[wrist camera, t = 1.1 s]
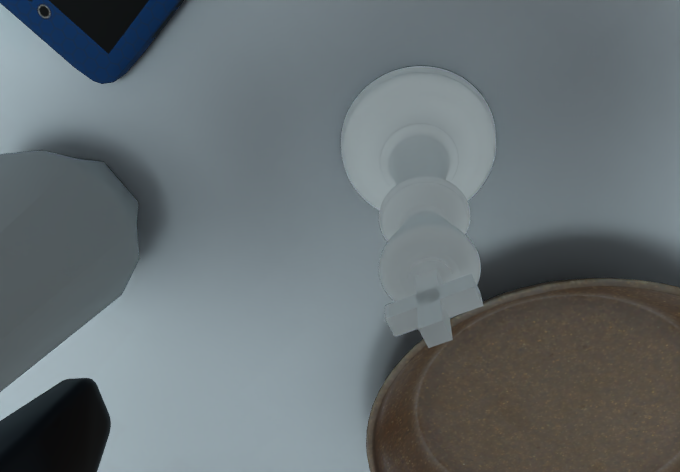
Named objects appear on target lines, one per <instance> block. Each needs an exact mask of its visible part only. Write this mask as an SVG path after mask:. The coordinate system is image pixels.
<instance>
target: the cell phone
mask: <svg viewBox="0 0 680 472" xmlns="http://www.w3.org/2000/svg"><path fill="white" fill-rule="evenodd" d="M183 1H184V0H0V3H1V4H2V5H3V6H4V7H6V8H7V9H8V10H9V11H10V12H11V13H13V14H14V15H15V16H16V17H17V18H18V19H19V20H21V21H22V22H23V23H24V24H25V25H26V26H27V27H29V28H30V29H31V30H32V31H33V32H34V33H35V34H37V35H38V36H39V37H40V38H41V39H42V40H43V41H45V42H46V43H47V44H48V45H49V46H50V47H52V48H53V49H54V50H55V51H56V52H57V53H58V54H60V55H61V56H62V57H63V58H64V59H65V60H66V61H68V62H69V63H70V64H71V65H72V66H73V67H74V68H76V69H77V70H79V71H80V72H81V73H83V74H84V75H86V76H87V77H88V78H90V79H91V80H93V81H95V82H98V83H101V84H104V83H112V82H115V81H116V80H117V79H119V78H120V77H122V76H123V75H124V74H126V73H127V71H128V70H129V69H130V68H131V67H132V66H133V64H134V63H135V62H136V61H137V60H138V59H139V58H140V56H141V55H142V54H143V53H144V52H145V50H146V49H147V48H148V47H149V45H150V44H151V43H152V41H153V40H154V39H155V37H156V36H157V35H158V34H159V32H160V31H161V30H162V28H163V27H164V26H165V25H166V23H167V22H168V21H169V19H170V18H171V17H172V15H173V14H174V13H175V12H176V10H177V9H178V8H179V6H180V5H181V4H182V3H183Z"/></svg>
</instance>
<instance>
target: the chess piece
mask: <svg viewBox="0 0 680 472" xmlns="http://www.w3.org/2000/svg"><path fill="white" fill-rule="evenodd" d="M341 154H342V159H343V164H344V168H345V171H346V174H347V176H348V178H349V180H350V182H351V184H352V186H353V187H354V189H355V190H356V191H357V193H358V194H359V195H360V196H361V197H362V198H363V199H364V200H365V201H366V202H367V203H369V204H370V205H371V206H373V207H374V208H376V209H378V210H379V225H380V229H381V232H382V234H383V236H384V238H385V239H386V241H387V242H388V243H387V244H386V246H385V247H384V249H383V251H382V254H381V257H380V260H379V277H380V281H381V284H382V286H383V288H384V290H385V291H386V293H387V294H388V295H389V297H390V298H391V299H392V300H393V301H395V302H393V303H390V304H388V305H385V321H386V322H387V324H388V326H389V328H390V329H391V331H392V333H393V335H394V336H395V337H397V336H400V335H402V334H405V333H408V332H411V331H414V330H417V329H418V330H419V331H420V333H421V335H422V337H423V339H424V341H425V342H426V344H427V346H428V348H430V347H433V346H436V345H439V344H442V343H445V342H448V341H451V340H453V338H452V331H451V324H450V318H451V317H454V316H456V315H459V314H462V313H465V312H468V311H471V310H473V309H476V308H479V307H482V306H484V305H483V301H482V297H481V293H480V290H479V288H478V286H477V284H478V282H479V279H480V274H481V262H480V257H479V254H478V251H477V249H476V247H475V246H474V244H473V243H472V241H471V240H470V239H469V238H468V237H467V236H466V233H467V231H468V228H469V225H470V218H471V214H470V207H469V204H468V201H469V200H470V199H471V198H472V197H473V196H474V195H475V194H476V193H477V192H478V191H479V190H480V189H481V187H482V186H483V184H484V183H485V181H486V180H487V178H488V176H489V174H490V172H491V169H492V166H493V163H494V159H495V154H496V129H495V123H494V119H493V116H492V113H491V110H490V108H489V106H488V104H487V102H486V101H485V99H484V98H483V96H482V95H481V94H480V92H479V91H478V90H477V89H476V88H475V87H474V86H473V85H472V84H470V83H469V82H468V81H467V80H465V79H464V78H462V77H460V76H459V75H457V74H455V73H453V72H450V71H447V70H444V69H441V68H436V67H430V66H412V67H405V68H401V69H397V70H394V71H391V72H389V73H387V74H385V75H383V76H381V77H379V78H377V79H376V80H374V81H373V82H372V83H370V84H369V85H368V86H367V87H366V88H364V89H363V90H362V91H361V93H360V94H359V95H358V96H357V97H356V99H355V100H354V101H353V103H352V105H351V106H350V108H349V110H348V112H347V114H346V117H345V120H344V123H343V127H342V132H341Z"/></svg>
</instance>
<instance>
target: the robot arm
mask: <svg viewBox="0 0 680 472" xmlns="http://www.w3.org/2000/svg"><path fill="white" fill-rule="evenodd" d="M110 427H111V422H110V416H109V413H108V411H107V408H106V406H105V404H104V401H103V399H102V396H101V394H100V392H99V389H98V387H97V385H96V383H95V382H94V381H93V380H92V379H89V378H78V379H66V380H63V381H62V382H60V383H58V384H57V385H55V386H54V387H52V388H51V389H49V390H48V391H46V392H45V393H43V394H41V395H40V396H38V397H37V398H35V399H34V400H32V401H31V402H29V403H27V404H26V405H24V406H23V407H21V408H20V409H18V410H17V411H15V412H14V413H12V414H10V415H9V416H7V417H6V418H4V419H3V420H1V421H0V472H97V470H98V467H99V464H100V461H101V458H102V455H103V451H104V448H105V445H106V442H107V439H108V436H109V433H110Z"/></svg>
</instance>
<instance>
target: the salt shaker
mask: <svg viewBox="0 0 680 472" xmlns="http://www.w3.org/2000/svg"><path fill="white" fill-rule="evenodd" d="M138 205H139V203H138V201H137V200H136V199H135V198H134V197H133V196H132V194H131V193H130V192H129V191H128V190H127V189H126V187H125V186H124V185H123V184H122V183H121V182H120V181H119V179H118V178H117V177H116V176H115V175H114V174H113V172H112V171H111V170H110V169H109V168H108V167H107V165H106V164H105V163H104V162H101V161H92V160H83V159H76V158H72V157H68V156H64V155H60V154H56V153H52V152H48V151H44V150H39V151H28V152H17V153H6V154H1V155H0V392H1V391H2V390H3V389H5V388H6V387H7V386H8V385H10V384H11V383H12V382H13V381H15V380H16V379H17V378H18V377H20V376H21V375H22V374H23V373H25V372H26V371H27V370H28V369H30V368H31V367H32V366H33V365H35V364H36V363H37V362H38V361H40V360H41V359H42V358H43V357H45V356H46V355H47V354H48V353H50V352H51V351H52V350H53V349H55V348H56V347H57V346H58V345H60V344H61V343H62V342H63V341H65V340H66V339H67V338H68V337H70V336H71V335H72V334H73V333H75V332H76V331H77V330H78V329H80V328H81V327H82V326H83V325H85V324H86V323H87V322H88V321H90V320H91V319H92V318H93V317H95V316H96V315H97V314H98V313H100V312H101V311H102V310H103V309H105V308H106V307H107V306H108V305H110V304H111V303H112V302H113V301H115V300H116V299H117V298H118V297H120V296H121V295H122V293H123V291H124V289H125V287H126V285H127V283H128V281H129V279H130V277H131V275H132V273H133V271H134V269H135V267H136V264H137V262H138V260H139V247H138V236H137V225H136V224H137V214H138Z"/></svg>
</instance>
